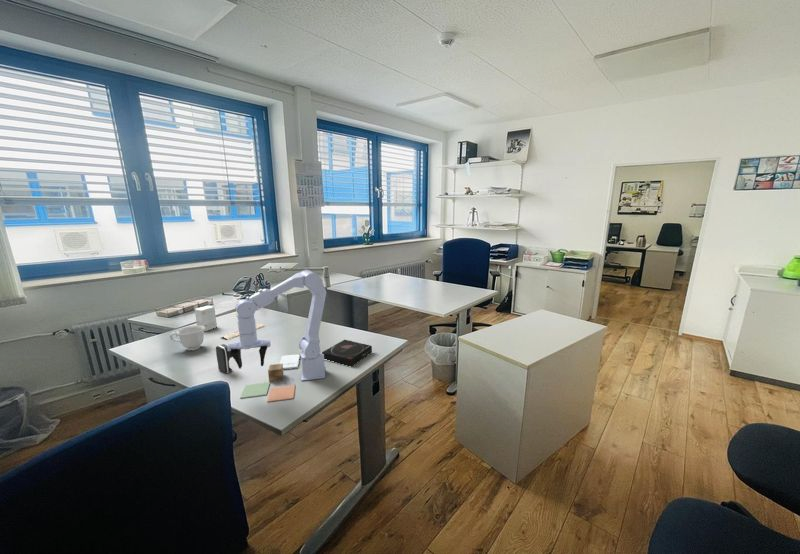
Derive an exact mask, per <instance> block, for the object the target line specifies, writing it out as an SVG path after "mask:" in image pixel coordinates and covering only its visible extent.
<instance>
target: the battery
mask: <svg viewBox="0 0 800 554" xmlns="http://www.w3.org/2000/svg"><path fill="white" fill-rule="evenodd" d="M227 346H228V344H224V343H223V344H219V345H217V346H215V354H216V359H217V360H216V361H217V368H218V371H221V372H222V373H225V374H228V373H231V372H232V371H233V369H232V368H231V366H230V360H231V358H232V359H233V357H232V356H231V354H230V353H231V351H227Z"/></svg>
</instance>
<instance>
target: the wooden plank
mask: <svg viewBox="0 0 800 554" xmlns="http://www.w3.org/2000/svg"><path fill="white" fill-rule="evenodd" d="M264 326H265V324H262V323H258V324H256V330H259V329H262V328H265V327H264ZM261 327H262V328H261ZM258 328H259V329H258ZM238 335H239V330H238V331H235V332H232V333H230V334H226V335H224V336H221V337H220V339H223V338H222V337H224V339H226V340H227V341H229V340H231V339H230V338H232V339H234V338H233V337H235V338H237V337H239V336H238ZM236 336H237V337H236ZM228 339H229V340H228Z"/></svg>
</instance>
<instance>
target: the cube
mask: <svg viewBox="0 0 800 554" xmlns="http://www.w3.org/2000/svg"><path fill="white" fill-rule="evenodd" d="M267 374H268V382H270V383H272V382H279V380H280V381H283V379H284V375H283V374H284V370H283V364H280V363H277V364H276V363H274V364H269V367H268V370H267ZM271 381H272V382H271Z"/></svg>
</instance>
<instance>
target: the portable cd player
mask: <svg viewBox="0 0 800 554" xmlns="http://www.w3.org/2000/svg"><path fill="white" fill-rule="evenodd" d="M321 352H322V353H321V354H324V359H327V360H330V361H329V362H331V361H334V362H333V363H335V362H337V363H336V364H338V363H340V364H339V365H342V364H344V365H343V366H345V365H347V367H349V366H351V367H350V368H352V367H354V366H355V365H356V364H358V363H359V362H361V361H362V360H363V358H364V357H365V358H366V357H368V356H369V355H371V354H372V353H373V346H372V345H370V344H365V343H361V342H357V341H354V340H353V341H352V340H348V339H343V340H341V341H339V342H337V343H336V344H334V345H333V346H330V347H329V348H327V349H325V350H323V351H321ZM371 352H372V353H371ZM370 353H371V354H370ZM368 354H369V355H368ZM367 355H368V356H367ZM365 358H364V359H365ZM361 359H362V360H361ZM327 360H326V361H327ZM360 360H361V361H360ZM357 362H358V363H357ZM354 364H355V365H354ZM353 365H354V366H353Z"/></svg>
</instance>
